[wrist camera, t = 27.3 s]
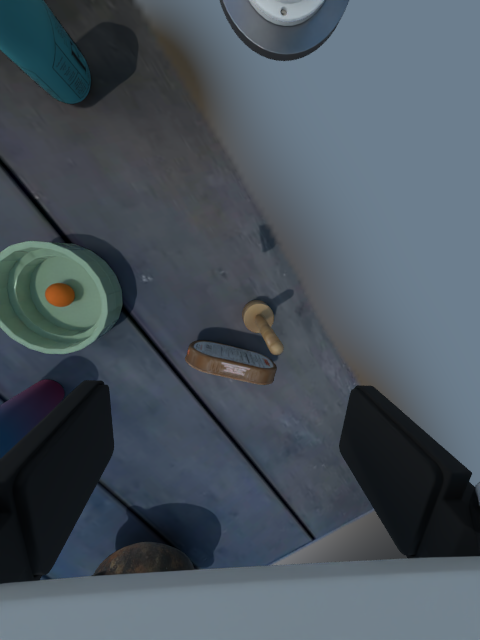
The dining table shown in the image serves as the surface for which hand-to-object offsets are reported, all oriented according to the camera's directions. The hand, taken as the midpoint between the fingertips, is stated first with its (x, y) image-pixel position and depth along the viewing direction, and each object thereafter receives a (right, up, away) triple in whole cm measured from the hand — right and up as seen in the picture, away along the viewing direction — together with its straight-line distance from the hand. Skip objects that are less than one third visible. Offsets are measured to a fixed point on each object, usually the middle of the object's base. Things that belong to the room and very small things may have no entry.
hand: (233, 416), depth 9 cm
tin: (-1, -2, +34) cm, 34 cm away
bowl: (-27, +8, +29) cm, 40 cm away
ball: (-27, +7, +27) cm, 39 cm away
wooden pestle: (+3, +5, +33) cm, 33 cm away
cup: (-34, -9, +34) cm, 49 cm away
